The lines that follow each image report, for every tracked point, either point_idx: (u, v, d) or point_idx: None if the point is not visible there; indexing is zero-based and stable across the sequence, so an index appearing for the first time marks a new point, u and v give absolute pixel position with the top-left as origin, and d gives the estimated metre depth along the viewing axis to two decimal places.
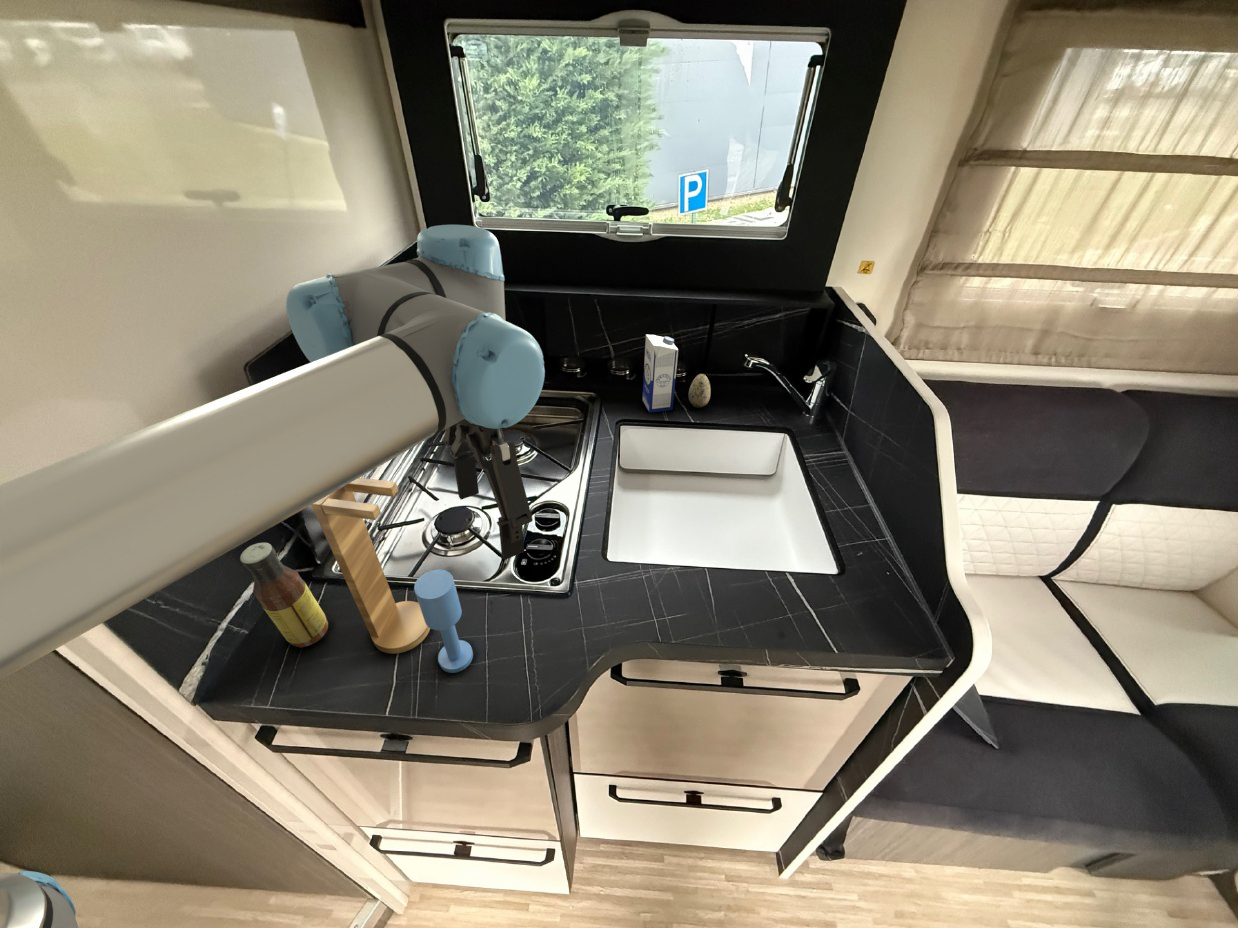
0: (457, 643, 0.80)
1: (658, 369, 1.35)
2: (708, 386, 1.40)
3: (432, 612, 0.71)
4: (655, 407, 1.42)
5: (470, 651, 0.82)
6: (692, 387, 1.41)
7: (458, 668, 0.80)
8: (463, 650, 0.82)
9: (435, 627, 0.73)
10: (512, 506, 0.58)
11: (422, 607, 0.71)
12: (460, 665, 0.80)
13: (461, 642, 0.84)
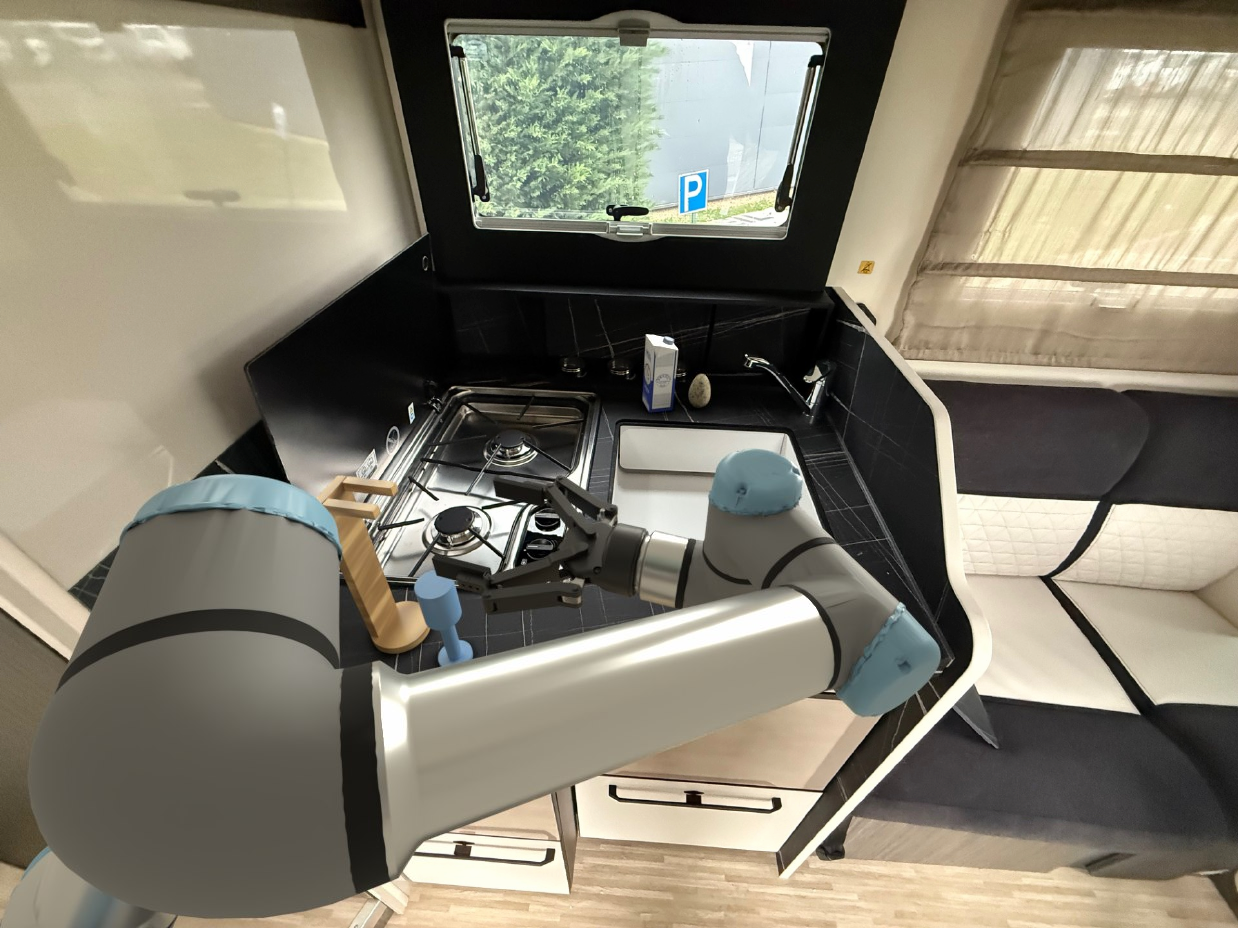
0: (457, 643, 0.80)
1: (658, 369, 1.35)
2: (708, 386, 1.40)
3: (432, 612, 0.71)
4: (655, 407, 1.42)
5: (470, 651, 0.82)
6: (692, 387, 1.41)
7: None
8: (463, 650, 0.82)
9: (435, 627, 0.73)
10: (509, 600, 0.51)
11: (422, 607, 0.71)
12: None
13: (461, 642, 0.84)
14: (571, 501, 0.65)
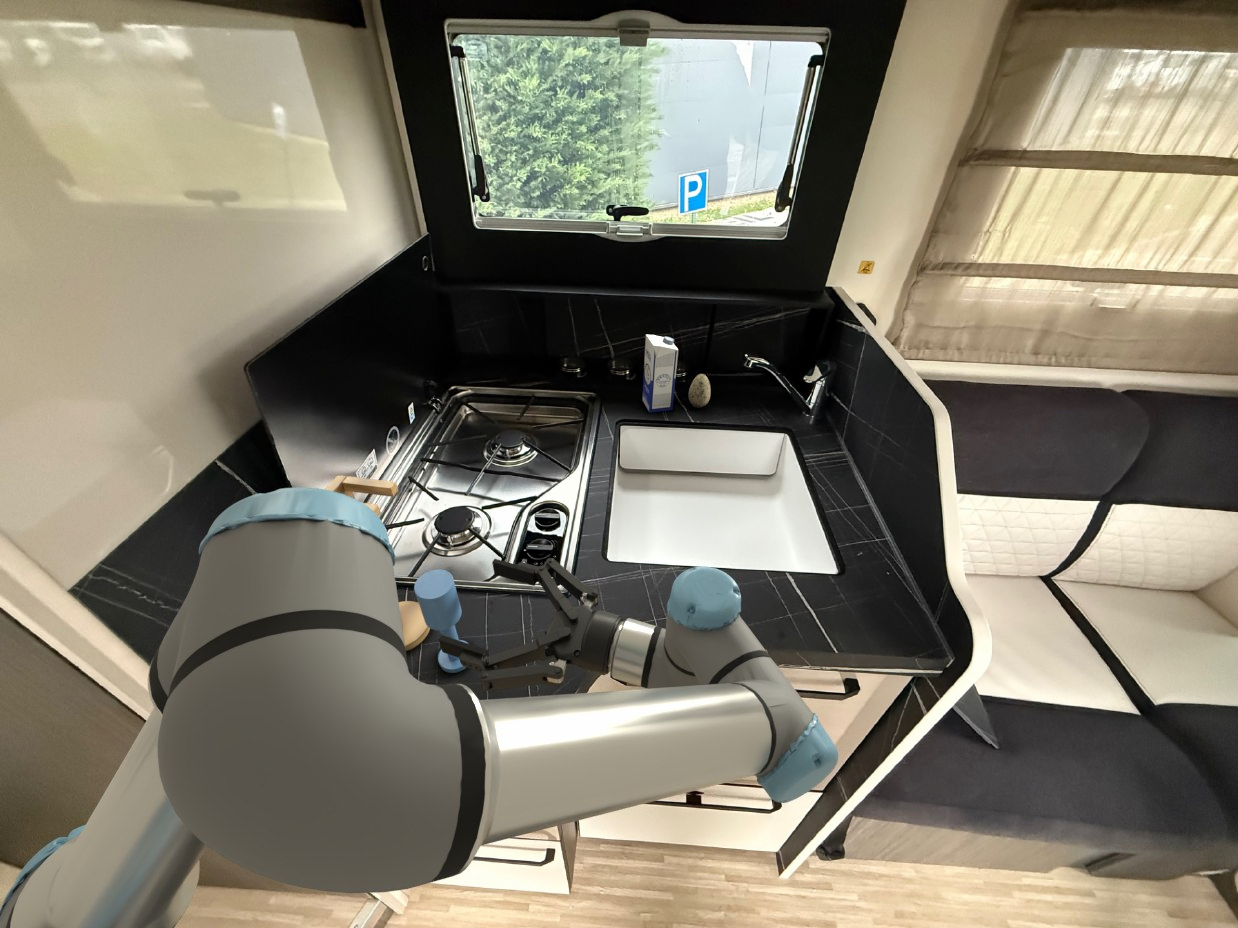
0: None
1: (658, 369, 1.35)
2: (708, 386, 1.40)
3: (432, 612, 0.71)
4: (655, 407, 1.42)
5: None
6: (692, 387, 1.41)
7: (458, 668, 0.80)
8: None
9: (435, 627, 0.73)
10: (502, 680, 0.62)
11: (422, 607, 0.71)
12: (460, 665, 0.80)
13: None
14: (559, 581, 0.76)
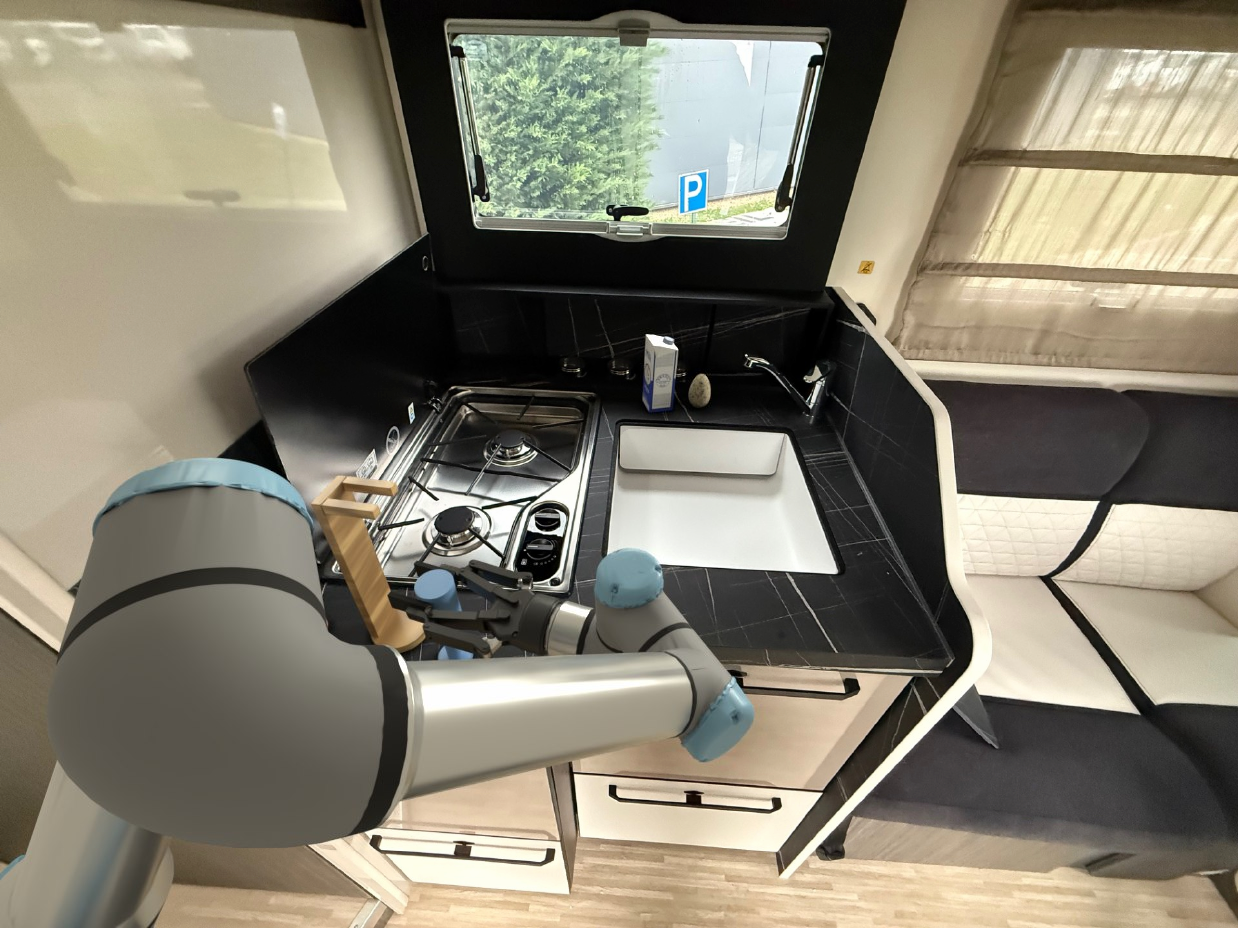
0: None
1: (658, 369, 1.35)
2: (708, 386, 1.40)
3: None
4: (655, 407, 1.42)
5: None
6: (692, 387, 1.41)
7: None
8: None
9: None
10: (439, 636, 0.67)
11: None
12: None
13: None
14: (488, 579, 0.76)
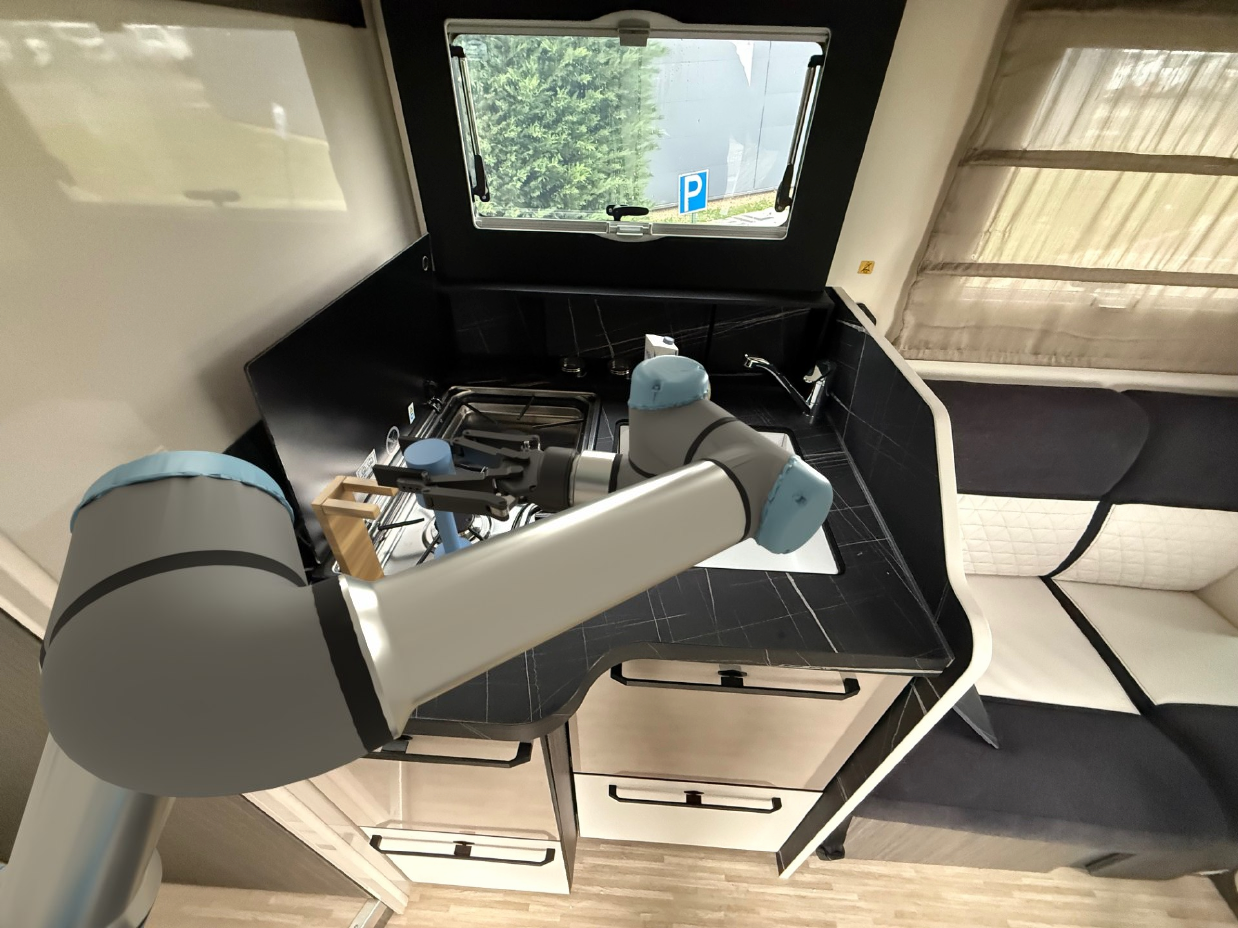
0: (456, 534, 0.69)
1: None
2: (708, 386, 1.40)
3: None
4: None
5: None
6: None
7: None
8: (462, 546, 0.72)
9: None
10: (443, 498, 0.56)
11: None
12: None
13: (458, 539, 0.73)
14: None
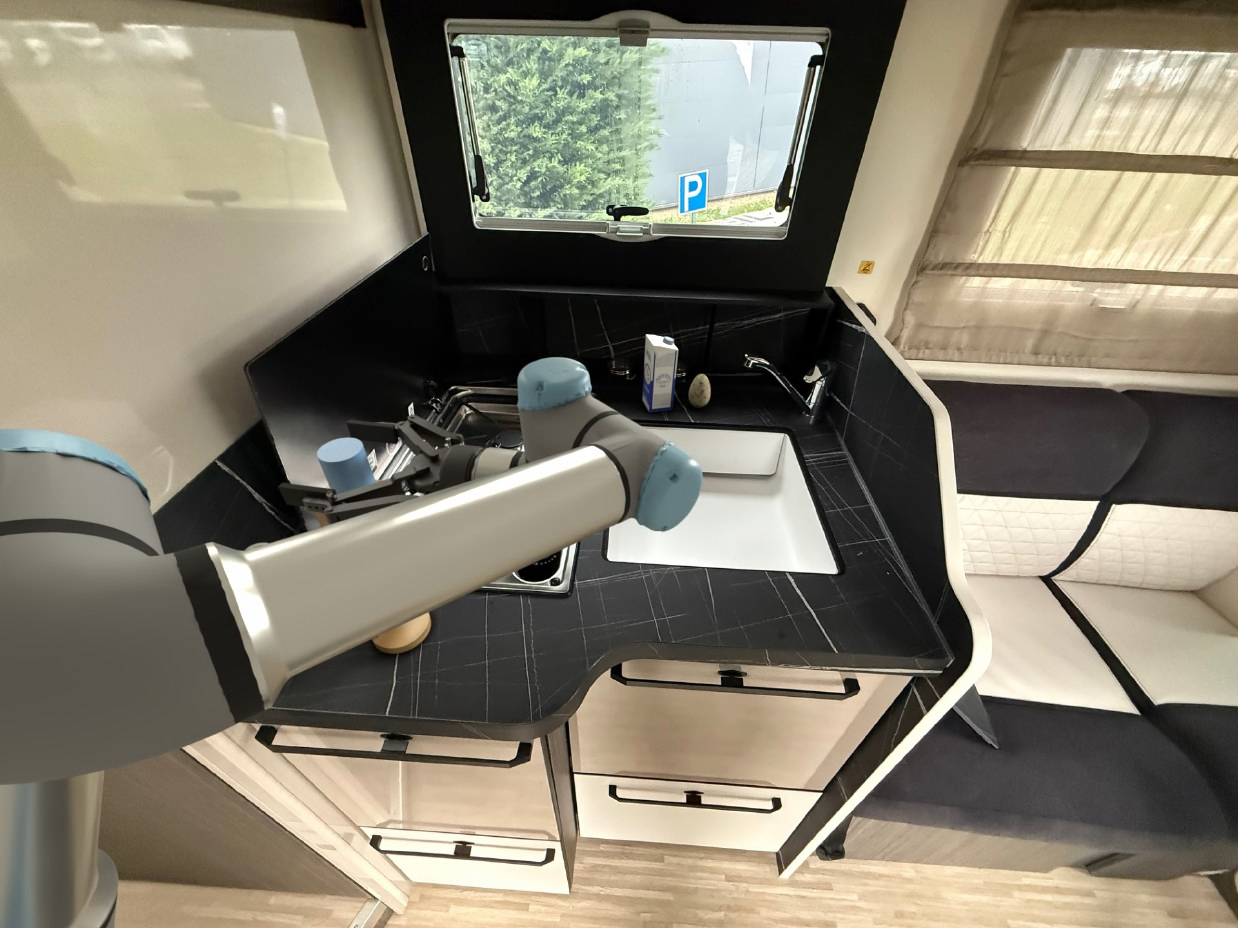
0: None
1: (658, 369, 1.35)
2: (708, 386, 1.40)
3: (341, 480, 0.64)
4: (655, 407, 1.42)
5: None
6: (692, 387, 1.41)
7: None
8: None
9: None
10: (351, 513, 0.57)
11: (329, 476, 0.63)
12: None
13: None
14: (423, 437, 0.71)
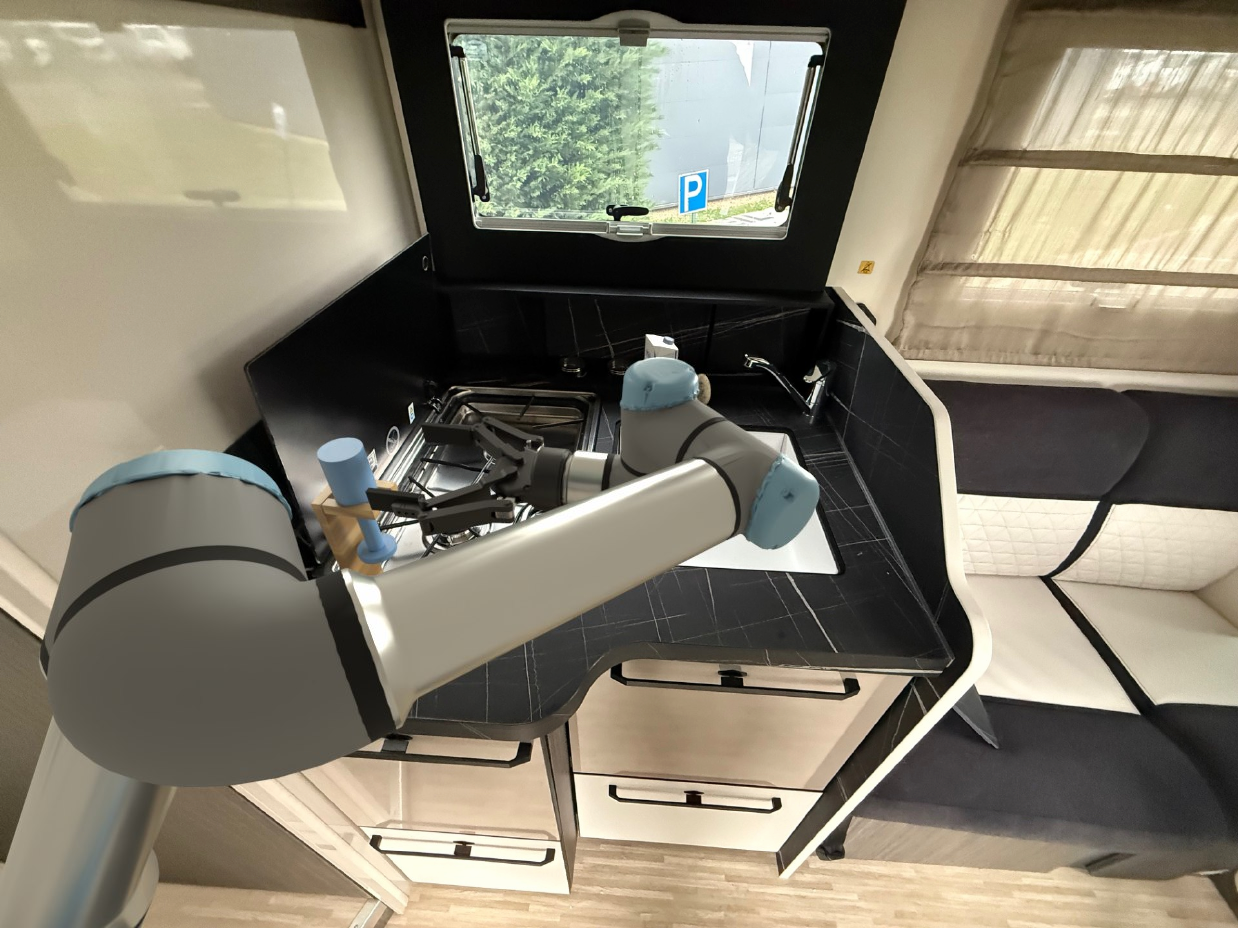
0: (377, 529, 0.72)
1: None
2: (708, 386, 1.40)
3: (341, 480, 0.64)
4: None
5: (393, 541, 0.75)
6: None
7: (381, 558, 0.73)
8: (385, 541, 0.75)
9: (347, 502, 0.66)
10: (445, 519, 0.55)
11: (329, 476, 0.63)
12: (383, 554, 0.73)
13: (383, 535, 0.76)
14: None
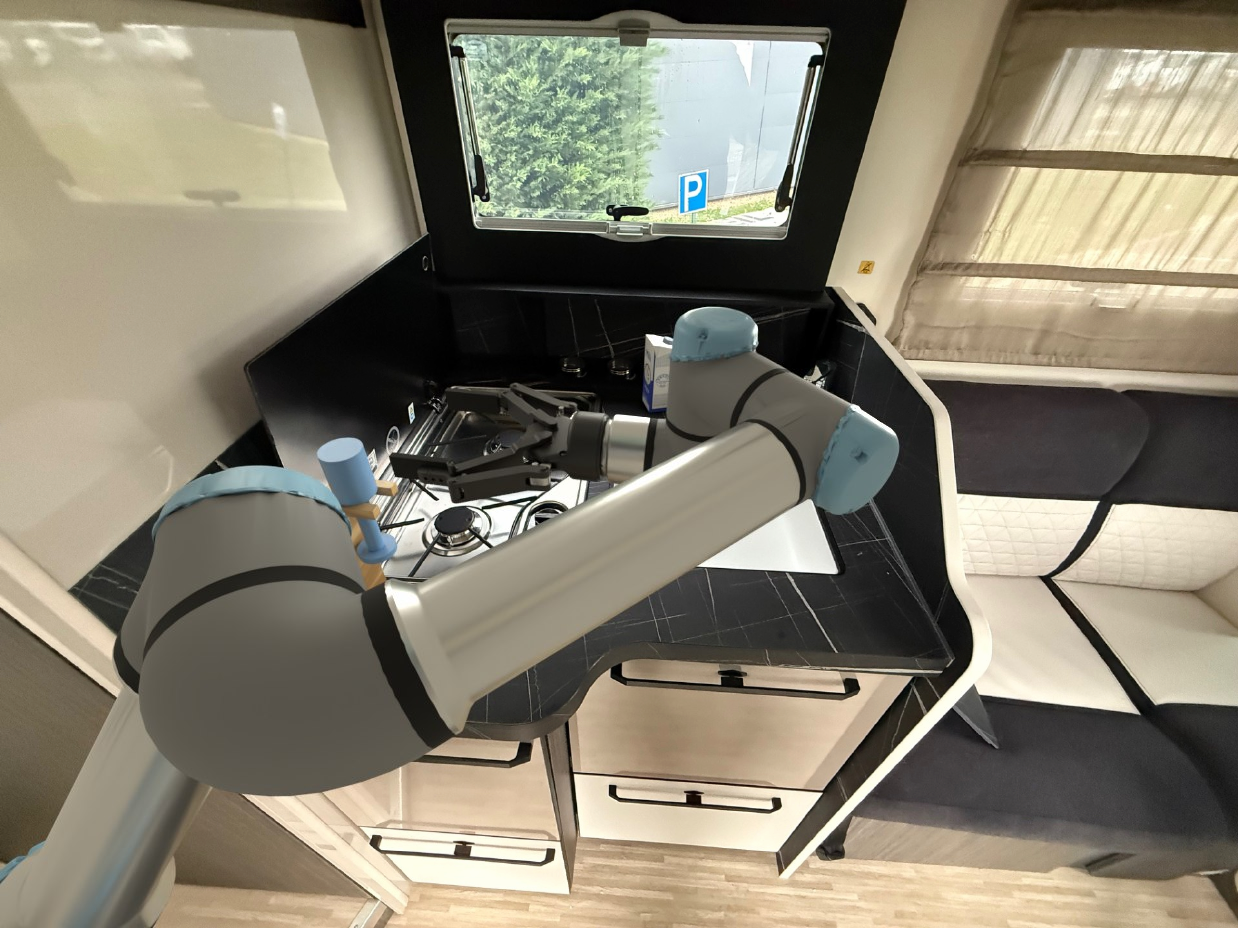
0: (377, 529, 0.72)
1: (658, 369, 1.35)
2: None
3: (341, 480, 0.64)
4: (655, 407, 1.42)
5: (393, 541, 0.75)
6: None
7: (381, 558, 0.73)
8: (385, 541, 0.75)
9: (347, 502, 0.66)
10: (476, 484, 0.50)
11: (329, 476, 0.63)
12: (383, 554, 0.73)
13: (383, 535, 0.76)
14: None
